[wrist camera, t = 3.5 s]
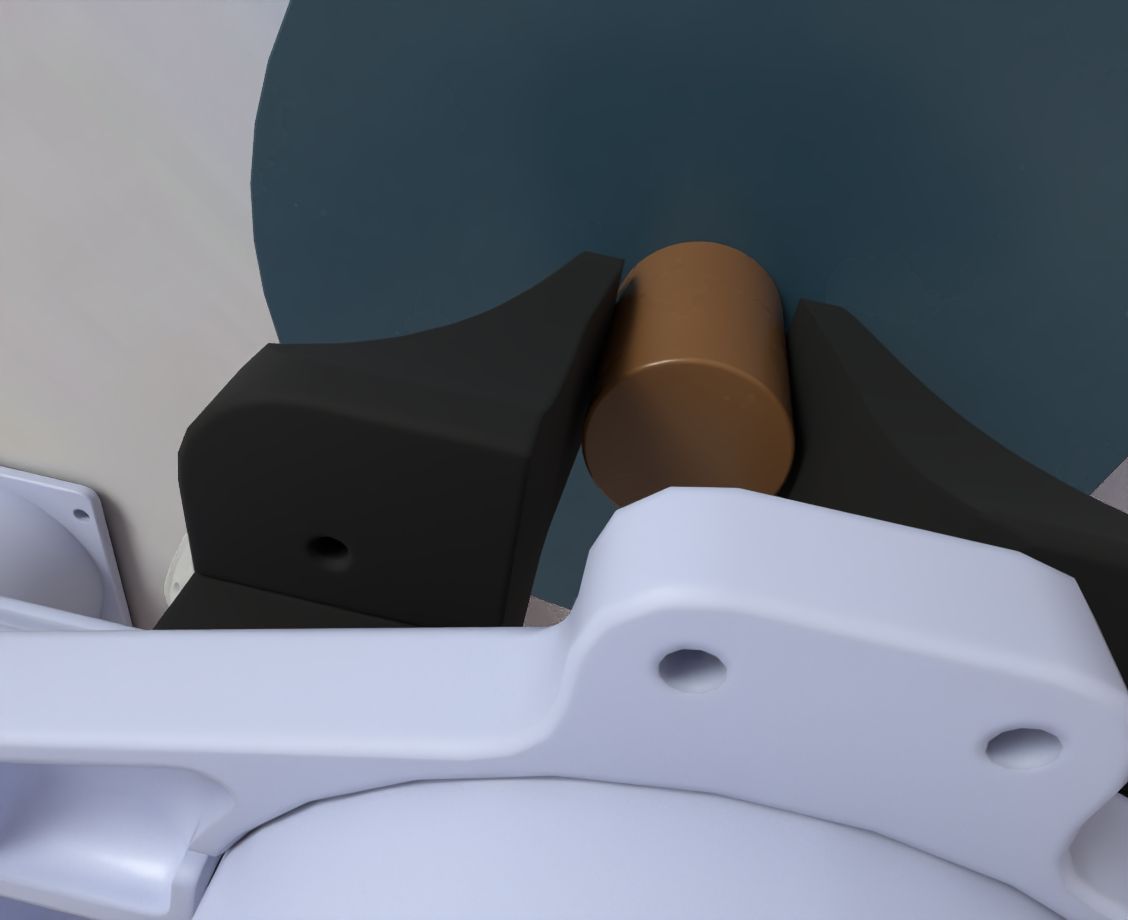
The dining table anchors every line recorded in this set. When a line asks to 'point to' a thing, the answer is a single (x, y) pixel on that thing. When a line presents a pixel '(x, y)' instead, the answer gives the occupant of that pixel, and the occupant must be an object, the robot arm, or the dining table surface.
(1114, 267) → the pan lid
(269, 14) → the dining table surface
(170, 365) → the dining table surface
